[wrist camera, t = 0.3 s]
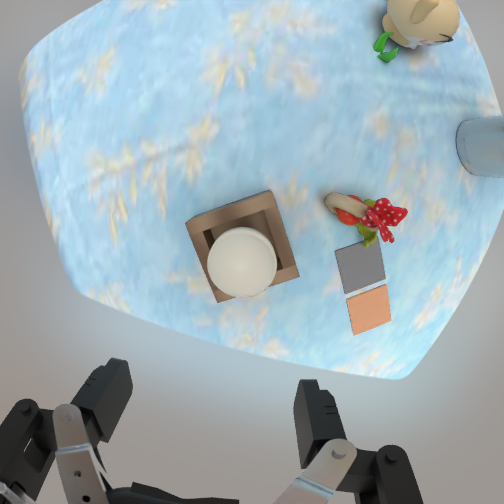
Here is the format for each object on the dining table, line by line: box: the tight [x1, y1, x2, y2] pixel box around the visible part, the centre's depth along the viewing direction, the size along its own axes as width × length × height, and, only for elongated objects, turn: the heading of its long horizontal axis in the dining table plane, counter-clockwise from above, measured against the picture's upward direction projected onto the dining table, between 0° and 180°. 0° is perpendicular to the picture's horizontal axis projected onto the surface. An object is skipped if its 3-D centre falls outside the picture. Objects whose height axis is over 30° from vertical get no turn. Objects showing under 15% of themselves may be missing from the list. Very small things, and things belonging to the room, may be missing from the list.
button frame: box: [185, 190, 300, 303], centre depth 33 cm, size 10×10×5 cm
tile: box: [346, 284, 391, 335], centre depth 38 cm, size 6×6×1 cm
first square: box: [335, 236, 386, 294], centre depth 37 cm, size 6×6×1 cm
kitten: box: [374, 0, 460, 62], centre depth 20 cm, size 15×10×15 cm
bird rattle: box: [325, 193, 408, 249], centre depth 30 cm, size 6×11×9 cm
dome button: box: [207, 227, 277, 297], centre depth 27 cm, size 6×6×7 cm
